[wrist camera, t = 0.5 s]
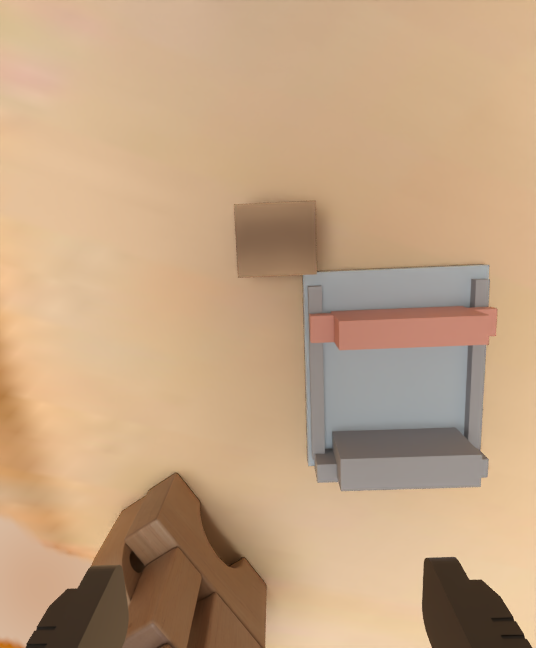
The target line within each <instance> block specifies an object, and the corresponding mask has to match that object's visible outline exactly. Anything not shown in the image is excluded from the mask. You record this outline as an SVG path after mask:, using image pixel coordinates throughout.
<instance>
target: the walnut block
mask: <svg viewBox="0 0 536 648" xmlns="http://www.w3.org/2000/svg"><path fill="white" fill-rule="evenodd" d="M234 214H235V232H236V250H237V267H238V278H243V277H267V276H290V275H314V274H317V256H316V209H315V201H298V202H276V203H254V204H234Z"/></svg>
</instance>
